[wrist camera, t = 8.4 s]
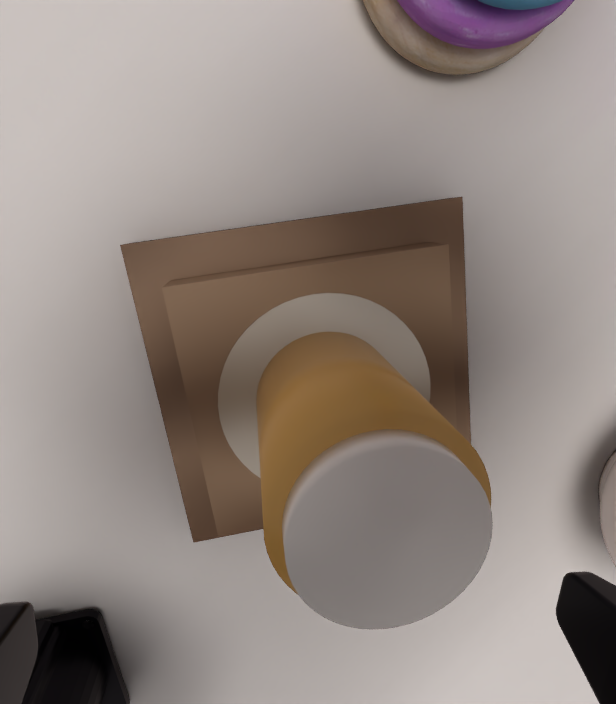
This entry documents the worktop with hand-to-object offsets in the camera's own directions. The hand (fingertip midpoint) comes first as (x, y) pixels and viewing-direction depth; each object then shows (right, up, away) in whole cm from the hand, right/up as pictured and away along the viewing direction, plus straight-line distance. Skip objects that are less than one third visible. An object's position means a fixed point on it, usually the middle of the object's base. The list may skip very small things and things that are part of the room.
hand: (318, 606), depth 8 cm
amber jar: (0, +2, +9) cm, 10 cm away
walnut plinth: (0, +3, +13) cm, 13 cm away
